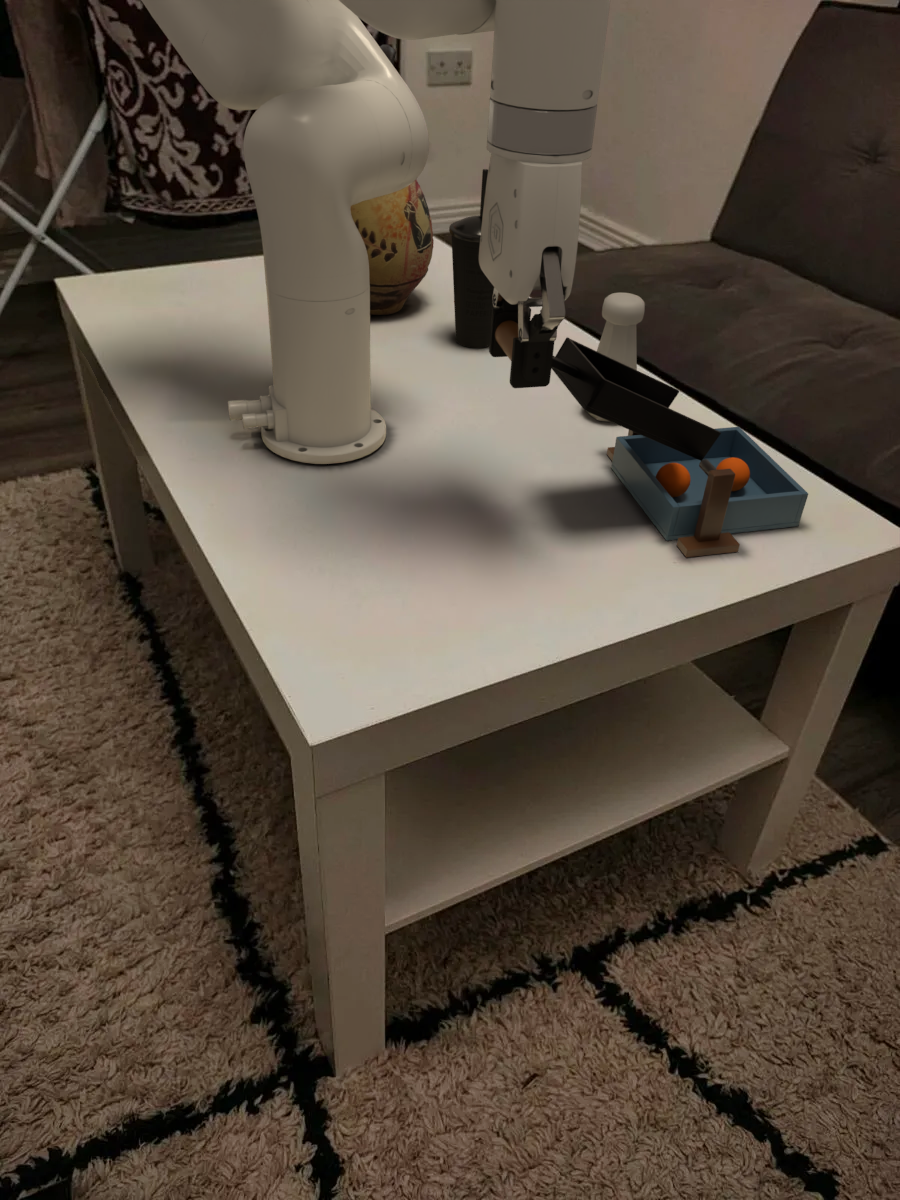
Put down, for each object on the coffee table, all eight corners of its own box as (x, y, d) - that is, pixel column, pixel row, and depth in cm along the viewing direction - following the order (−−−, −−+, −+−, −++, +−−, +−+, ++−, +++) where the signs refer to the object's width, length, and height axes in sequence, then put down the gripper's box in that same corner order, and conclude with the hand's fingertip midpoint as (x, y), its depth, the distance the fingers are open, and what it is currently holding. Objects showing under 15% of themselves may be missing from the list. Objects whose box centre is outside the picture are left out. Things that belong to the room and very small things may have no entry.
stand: (686, 557, 83) (703, 483, 79) (606, 454, 98) (617, 386, 93) (738, 551, 84) (758, 478, 80) (651, 450, 99) (664, 383, 94)
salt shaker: (632, 429, 102) (652, 309, 94) (578, 422, 103) (594, 303, 95) (634, 405, 107) (654, 290, 99) (583, 399, 108) (599, 284, 100)
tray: (666, 540, 85) (673, 507, 83) (611, 468, 95) (616, 436, 93) (798, 526, 88) (808, 493, 86) (731, 457, 98) (739, 426, 96)
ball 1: (702, 488, 89) (674, 509, 90) (687, 471, 92) (659, 492, 92) (686, 467, 87) (657, 489, 88) (671, 450, 90) (643, 472, 90)
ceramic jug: (429, 328, 123) (438, 62, 105) (308, 322, 122) (296, 54, 104) (433, 282, 136) (441, 40, 118) (324, 277, 136) (315, 33, 118)
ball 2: (739, 462, 88) (762, 475, 90) (723, 446, 91) (746, 458, 92) (717, 490, 90) (740, 502, 91) (702, 473, 92) (725, 485, 94)
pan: (512, 379, 74) (531, 346, 73) (481, 335, 81) (498, 304, 80) (701, 461, 84) (721, 433, 82) (660, 416, 90) (677, 389, 89)
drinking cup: (486, 358, 116) (498, 182, 104) (432, 342, 119) (438, 170, 107) (516, 338, 121) (531, 169, 109) (464, 324, 124) (473, 158, 112)
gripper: (460, 104, 74) (449, 332, 85) (525, 159, 61) (503, 420, 72) (552, 105, 75) (530, 328, 86) (636, 158, 62) (597, 413, 73)
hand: (518, 367), depth 79 cm, fingers closed on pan, 5 cm apart
